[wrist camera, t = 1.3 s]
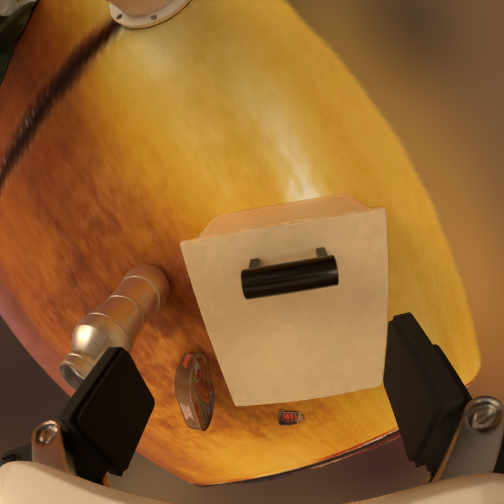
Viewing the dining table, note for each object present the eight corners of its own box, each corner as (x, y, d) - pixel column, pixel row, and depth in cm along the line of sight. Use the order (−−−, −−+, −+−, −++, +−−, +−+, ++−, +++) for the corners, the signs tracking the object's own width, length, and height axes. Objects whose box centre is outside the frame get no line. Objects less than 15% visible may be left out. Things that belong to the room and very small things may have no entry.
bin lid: (182, 240, 23) (157, 267, 18) (382, 206, 20) (411, 224, 15) (236, 401, 29) (230, 439, 24) (379, 380, 27) (392, 416, 22)
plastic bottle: (182, 277, 37) (114, 384, 19) (160, 310, 40) (96, 413, 21) (143, 249, 37) (51, 335, 18) (124, 284, 39) (43, 372, 20)
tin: (216, 404, 46) (208, 441, 38) (199, 403, 46) (189, 438, 39) (205, 341, 41) (191, 380, 33) (185, 340, 41) (168, 378, 33)
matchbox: (279, 425, 47) (279, 427, 47) (275, 410, 45) (275, 412, 45) (304, 422, 46) (304, 424, 46) (301, 406, 45) (301, 408, 44)
